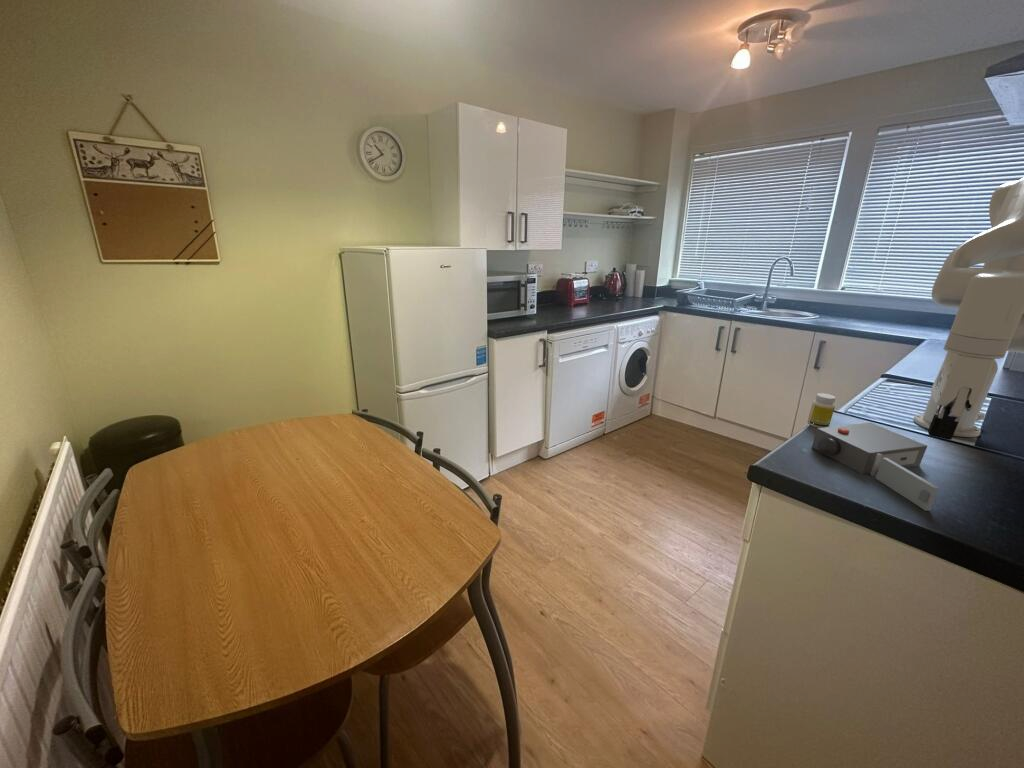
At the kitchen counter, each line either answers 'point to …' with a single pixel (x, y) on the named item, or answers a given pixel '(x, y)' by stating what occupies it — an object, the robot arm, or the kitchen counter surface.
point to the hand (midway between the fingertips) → (939, 436)
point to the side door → (907, 484)
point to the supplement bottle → (822, 410)
